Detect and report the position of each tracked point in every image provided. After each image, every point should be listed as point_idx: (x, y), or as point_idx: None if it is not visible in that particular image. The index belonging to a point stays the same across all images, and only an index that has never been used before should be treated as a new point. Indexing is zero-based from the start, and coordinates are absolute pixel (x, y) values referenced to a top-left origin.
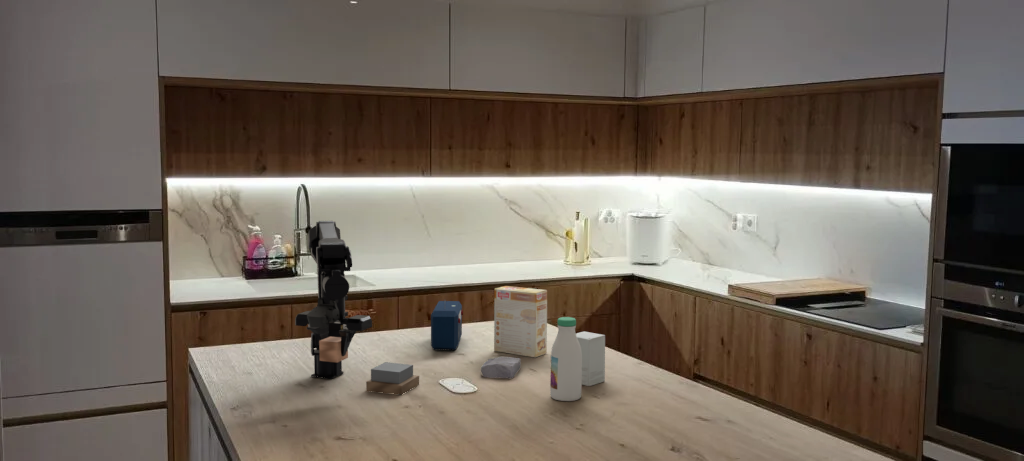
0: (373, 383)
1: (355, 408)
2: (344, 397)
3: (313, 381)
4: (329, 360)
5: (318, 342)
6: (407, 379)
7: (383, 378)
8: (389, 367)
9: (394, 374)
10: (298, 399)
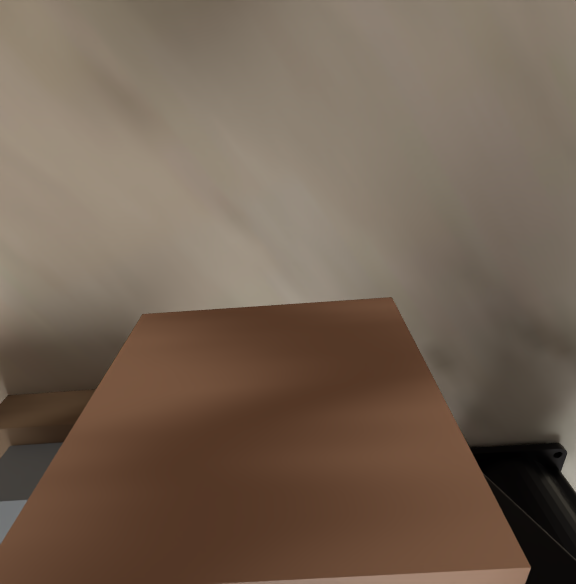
0: None
1: (2, 103)
2: (219, 259)
3: (521, 402)
4: (251, 315)
5: (565, 554)
6: None
7: None
8: None
9: (6, 486)
10: (451, 105)
